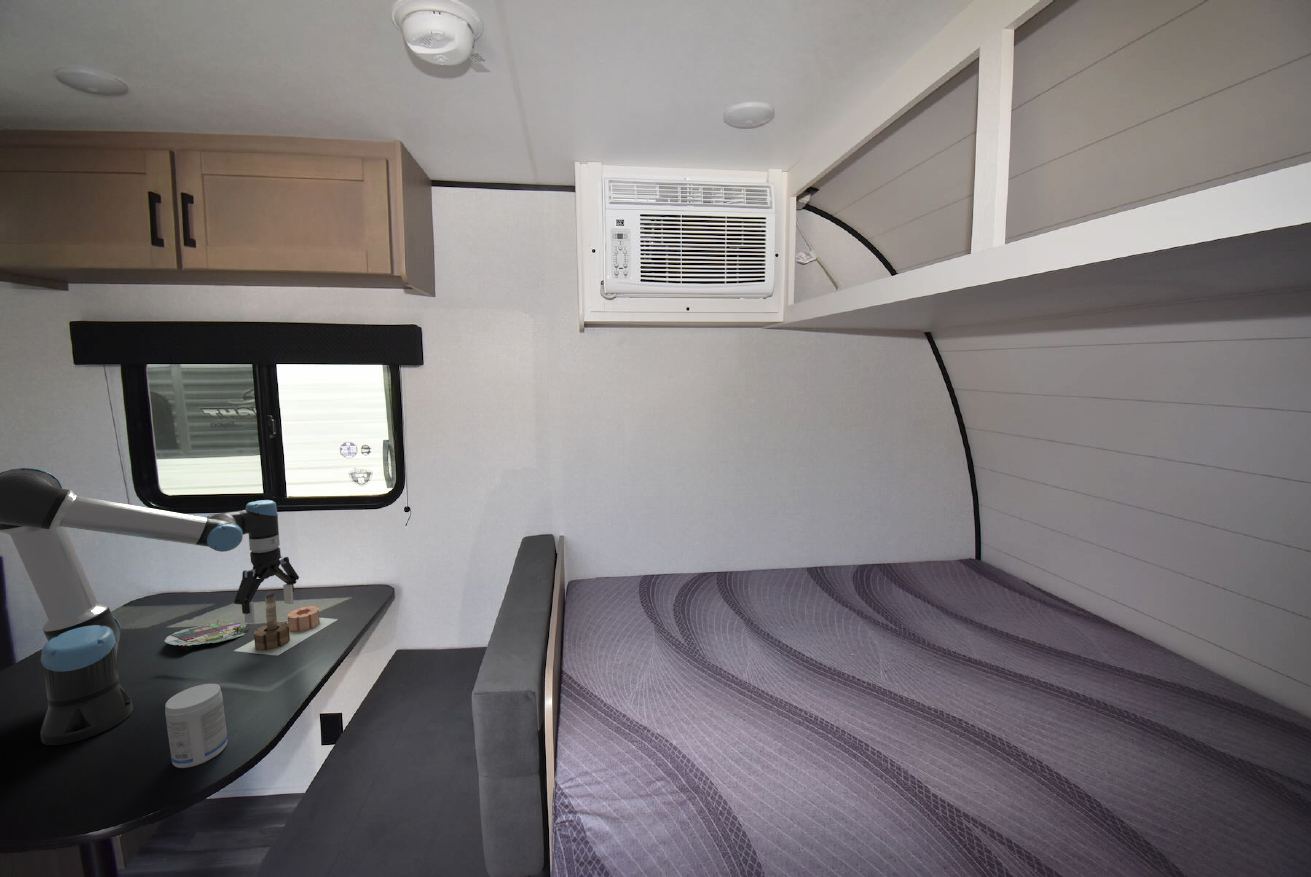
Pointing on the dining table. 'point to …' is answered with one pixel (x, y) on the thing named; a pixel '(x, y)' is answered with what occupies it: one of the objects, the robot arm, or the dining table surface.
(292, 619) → the terracotta bead
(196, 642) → the city model
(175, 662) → the dining table surface
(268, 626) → the wooden dowel rod
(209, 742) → the supplement tub
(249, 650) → the board
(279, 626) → the walnut bead
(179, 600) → the dining table surface
